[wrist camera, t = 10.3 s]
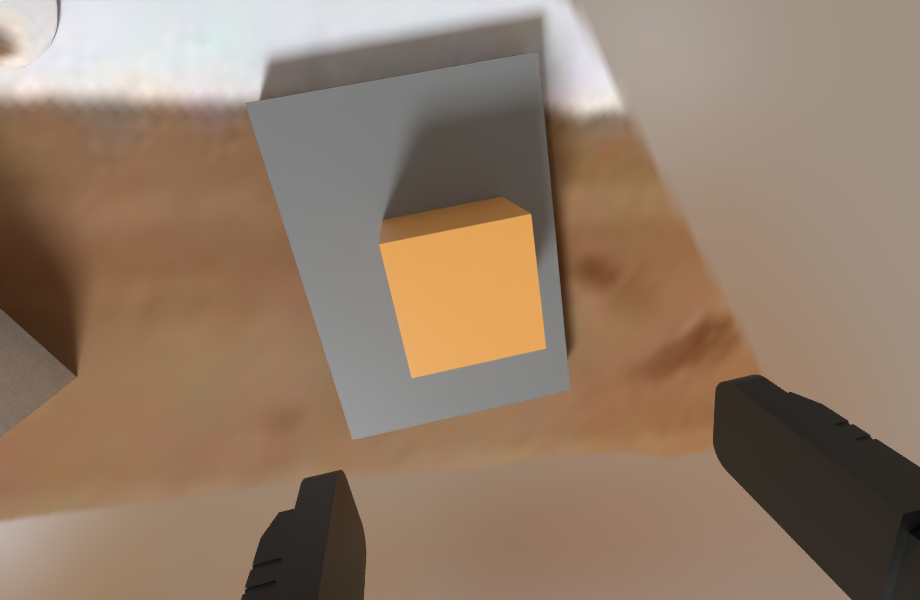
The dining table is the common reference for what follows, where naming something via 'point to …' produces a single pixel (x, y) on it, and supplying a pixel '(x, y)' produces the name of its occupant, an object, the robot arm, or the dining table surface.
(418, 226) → the matte orange cube
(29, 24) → the beer glass
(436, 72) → the board
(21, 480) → the dining table surface
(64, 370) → the grey cardboard box
